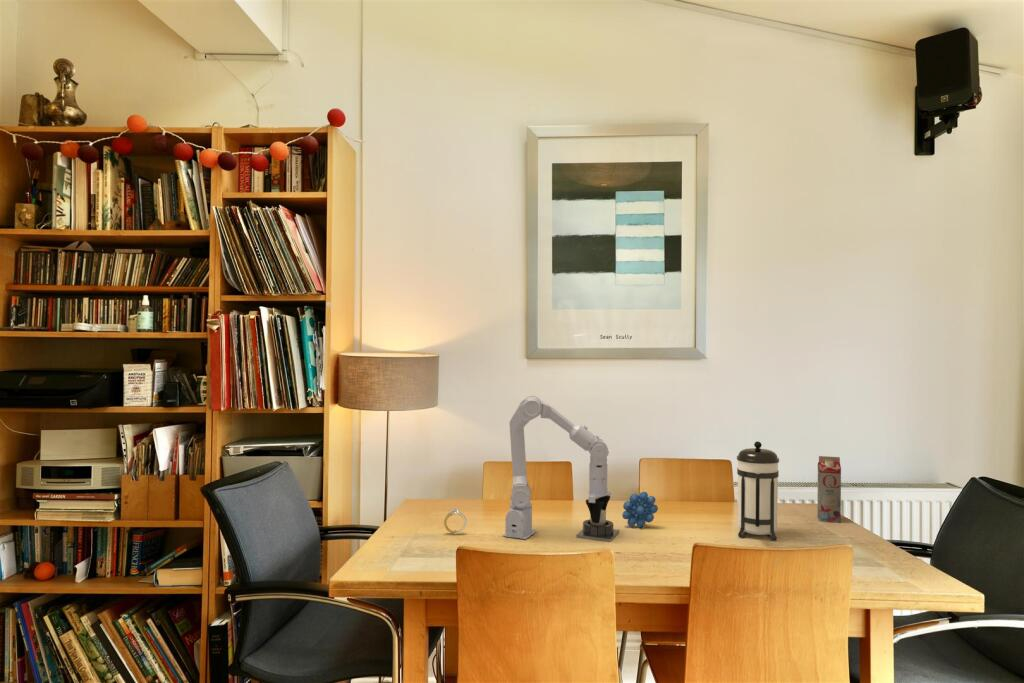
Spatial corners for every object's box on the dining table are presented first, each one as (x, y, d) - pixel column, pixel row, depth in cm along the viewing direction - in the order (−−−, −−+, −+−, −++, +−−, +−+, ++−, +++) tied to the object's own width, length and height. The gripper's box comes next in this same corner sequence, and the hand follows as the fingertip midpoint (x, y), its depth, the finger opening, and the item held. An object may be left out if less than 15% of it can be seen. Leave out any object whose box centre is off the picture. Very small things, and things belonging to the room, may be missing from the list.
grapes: (657, 524, 229) (657, 489, 229) (658, 530, 222) (658, 493, 222) (622, 523, 231) (622, 487, 231) (622, 528, 224) (622, 492, 224)
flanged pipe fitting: (610, 541, 210) (610, 529, 210) (576, 537, 214) (576, 525, 214) (619, 532, 220) (619, 520, 220) (586, 528, 224) (586, 517, 224)
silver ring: (443, 535, 216) (443, 510, 216) (445, 532, 219) (445, 507, 219) (465, 535, 215) (465, 510, 215) (466, 533, 219) (466, 508, 219)
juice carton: (840, 523, 232) (841, 458, 232) (819, 521, 234) (819, 457, 234) (838, 518, 238) (838, 455, 238) (817, 516, 241) (817, 454, 240)
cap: (604, 528, 214) (604, 512, 214) (588, 527, 215) (588, 511, 215) (607, 525, 219) (607, 509, 219) (591, 523, 220) (592, 508, 220)
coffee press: (720, 531, 222) (720, 439, 222) (759, 526, 227) (760, 437, 227) (757, 546, 205) (757, 447, 205) (798, 541, 211) (799, 444, 211)
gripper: (604, 483, 209) (603, 527, 209) (616, 474, 222) (616, 516, 222) (582, 481, 211) (581, 525, 212) (595, 473, 225) (595, 514, 225)
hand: (598, 520), depth 217 cm, fingers closed on cap, 5 cm apart
